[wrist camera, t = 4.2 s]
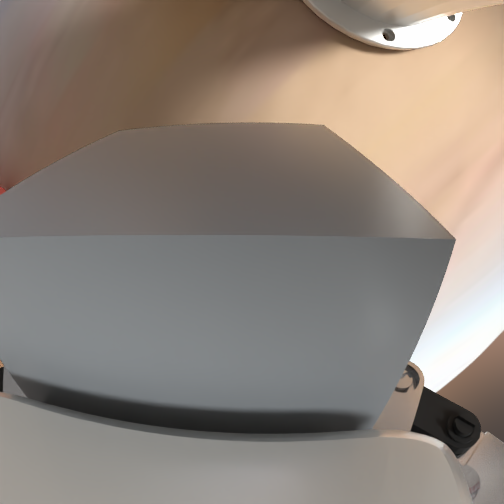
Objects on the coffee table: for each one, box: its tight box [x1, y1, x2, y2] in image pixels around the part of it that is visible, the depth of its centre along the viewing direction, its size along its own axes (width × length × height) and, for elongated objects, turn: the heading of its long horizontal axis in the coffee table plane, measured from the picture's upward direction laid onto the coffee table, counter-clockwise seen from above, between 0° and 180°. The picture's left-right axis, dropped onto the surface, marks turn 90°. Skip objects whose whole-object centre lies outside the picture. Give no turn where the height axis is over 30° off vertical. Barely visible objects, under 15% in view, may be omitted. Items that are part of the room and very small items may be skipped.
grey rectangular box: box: [0, 123, 456, 434], centre depth 10 cm, size 11×8×9 cm
